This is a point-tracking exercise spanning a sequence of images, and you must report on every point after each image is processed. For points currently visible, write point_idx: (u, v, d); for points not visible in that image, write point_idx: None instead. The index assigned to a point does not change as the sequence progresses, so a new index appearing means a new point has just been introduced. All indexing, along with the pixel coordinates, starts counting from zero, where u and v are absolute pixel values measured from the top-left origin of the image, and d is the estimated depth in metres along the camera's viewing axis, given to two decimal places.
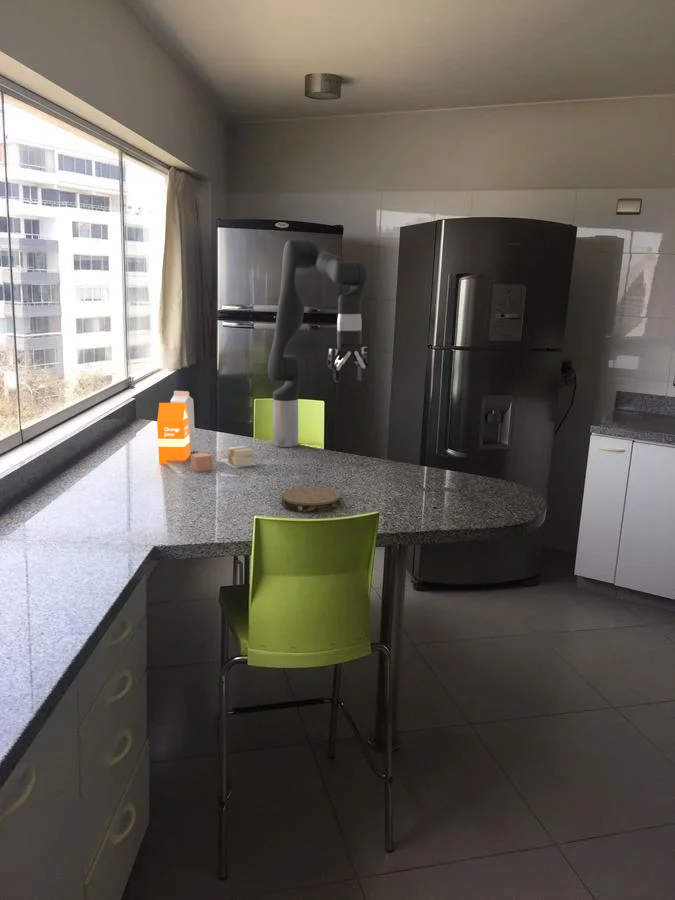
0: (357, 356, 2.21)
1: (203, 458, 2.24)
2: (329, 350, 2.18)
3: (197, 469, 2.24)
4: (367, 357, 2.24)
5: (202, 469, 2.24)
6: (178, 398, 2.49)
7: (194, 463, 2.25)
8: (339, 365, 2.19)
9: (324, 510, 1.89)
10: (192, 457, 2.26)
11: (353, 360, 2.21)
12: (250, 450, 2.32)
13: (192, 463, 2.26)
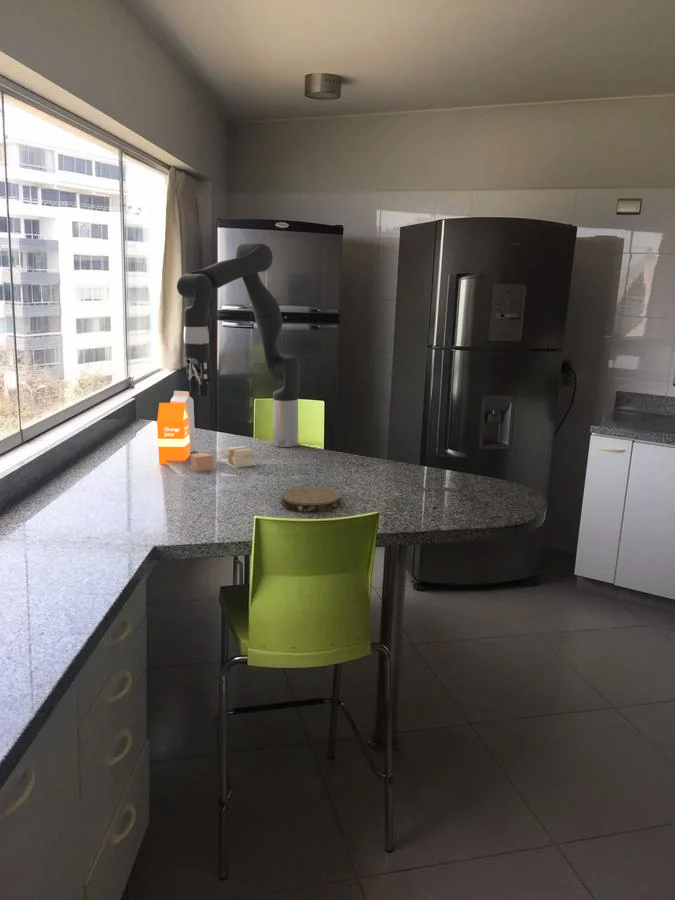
0: None
1: (203, 458, 2.24)
2: (203, 364, 2.13)
3: (197, 469, 2.24)
4: None
5: (202, 469, 2.24)
6: (178, 398, 2.49)
7: (194, 463, 2.25)
8: None
9: (324, 510, 1.89)
10: (192, 457, 2.26)
11: None
12: (250, 450, 2.32)
13: (192, 463, 2.26)
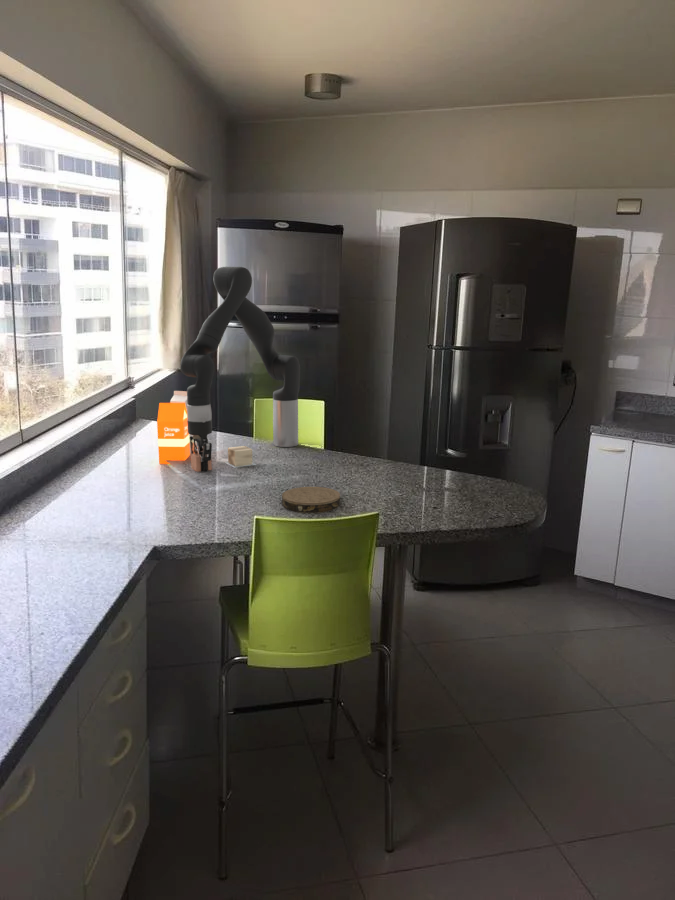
0: None
1: None
2: (206, 446, 2.19)
3: (197, 469, 2.24)
4: None
5: None
6: (178, 398, 2.49)
7: (194, 463, 2.25)
8: None
9: (324, 510, 1.89)
10: (192, 457, 2.26)
11: None
12: (250, 450, 2.32)
13: (192, 463, 2.26)
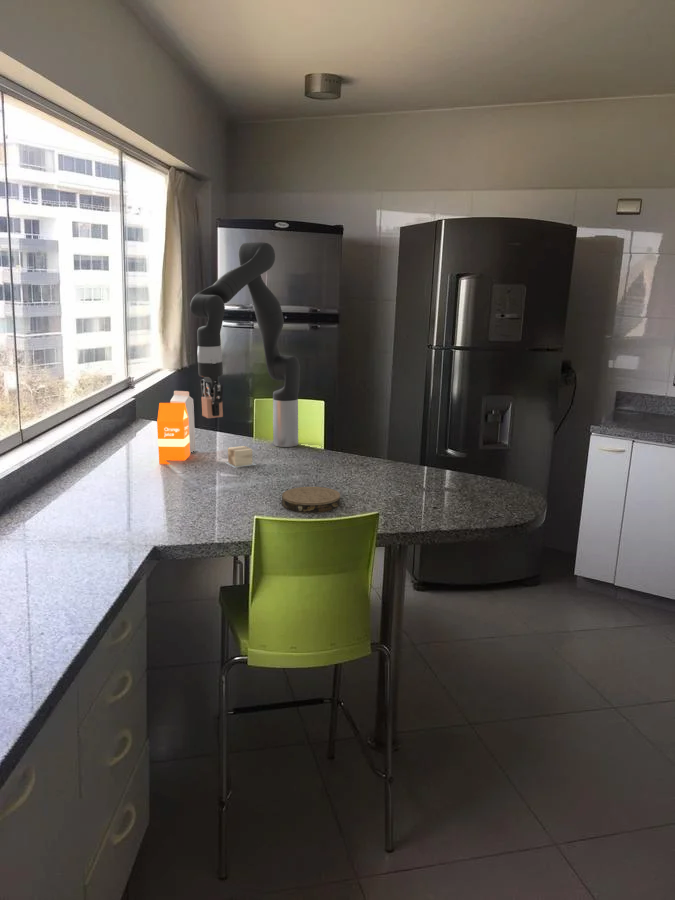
0: None
1: None
2: (217, 387, 2.18)
3: (208, 411, 2.22)
4: None
5: None
6: (178, 398, 2.49)
7: (205, 405, 2.23)
8: None
9: (324, 510, 1.89)
10: (203, 400, 2.24)
11: None
12: (250, 450, 2.32)
13: (203, 406, 2.25)
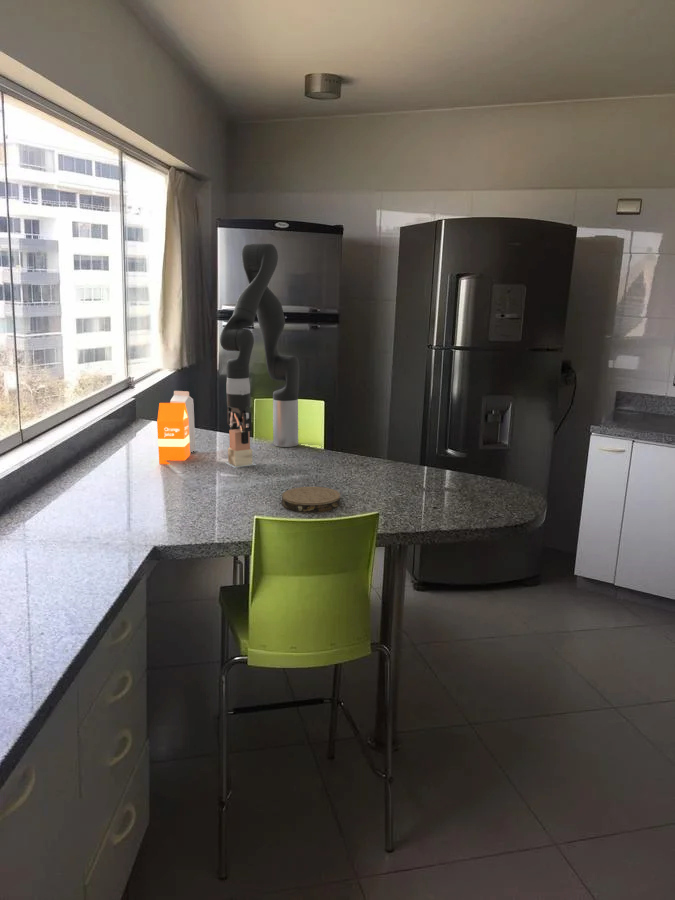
0: None
1: None
2: (246, 414, 2.24)
3: (236, 444, 2.29)
4: None
5: (240, 444, 2.30)
6: (178, 398, 2.49)
7: (233, 438, 2.30)
8: None
9: (324, 510, 1.89)
10: (231, 432, 2.31)
11: None
12: (250, 450, 2.32)
13: (231, 438, 2.32)
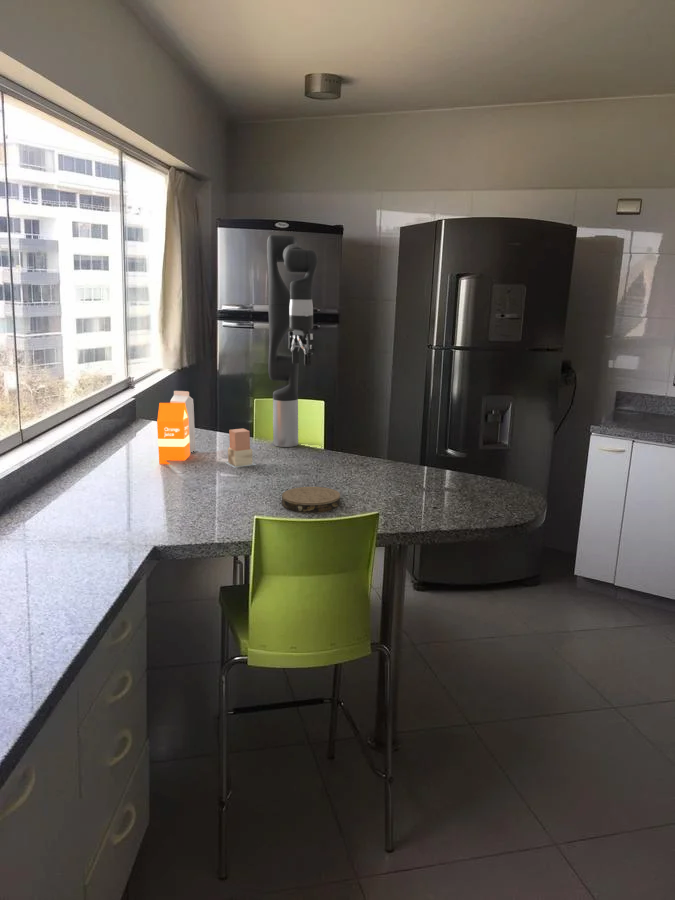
0: None
1: (241, 434, 2.30)
2: (310, 335, 2.24)
3: (236, 444, 2.29)
4: None
5: (240, 444, 2.30)
6: (178, 398, 2.49)
7: (233, 438, 2.30)
8: None
9: (324, 510, 1.89)
10: (231, 432, 2.31)
11: None
12: (250, 450, 2.32)
13: (231, 438, 2.32)
